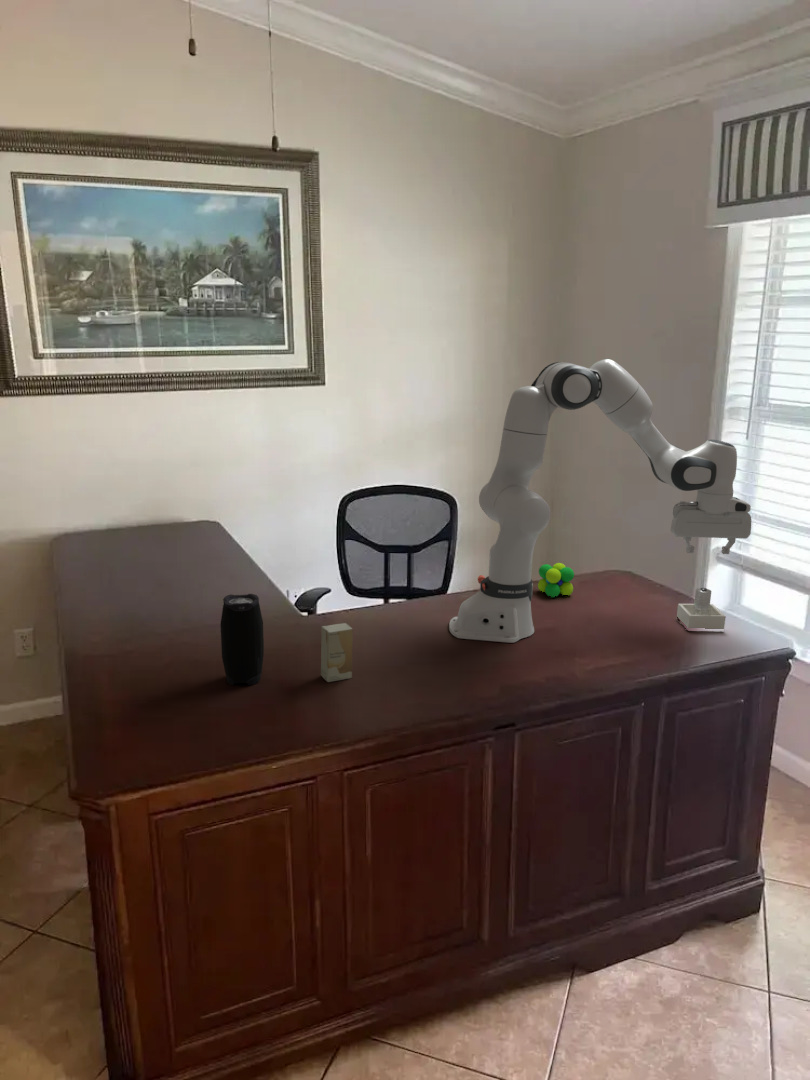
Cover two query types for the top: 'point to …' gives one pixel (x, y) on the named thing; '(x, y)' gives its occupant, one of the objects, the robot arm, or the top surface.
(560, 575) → the molecule model
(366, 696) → the top surface
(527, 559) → the robot arm
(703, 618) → the cream square tray
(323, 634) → the skincare box
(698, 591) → the cylinder
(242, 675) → the portable speaker
